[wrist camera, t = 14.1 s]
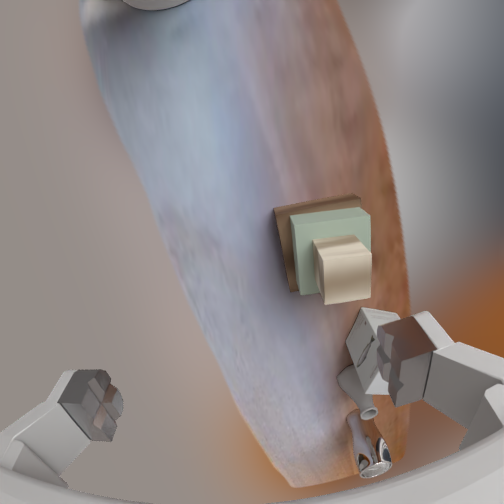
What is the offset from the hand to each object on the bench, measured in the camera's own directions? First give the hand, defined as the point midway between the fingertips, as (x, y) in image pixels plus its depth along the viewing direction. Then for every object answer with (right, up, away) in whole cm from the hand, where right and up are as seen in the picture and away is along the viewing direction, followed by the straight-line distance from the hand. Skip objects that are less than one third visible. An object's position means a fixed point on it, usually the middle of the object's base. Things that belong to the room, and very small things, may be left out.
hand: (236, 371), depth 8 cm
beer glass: (+24, -32, +50) cm, 64 cm away
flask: (+20, -20, +45) cm, 53 cm away
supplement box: (+20, -9, +41) cm, 47 cm away
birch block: (+10, +3, +28) cm, 30 cm away
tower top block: (+10, +4, +31) cm, 33 cm away
